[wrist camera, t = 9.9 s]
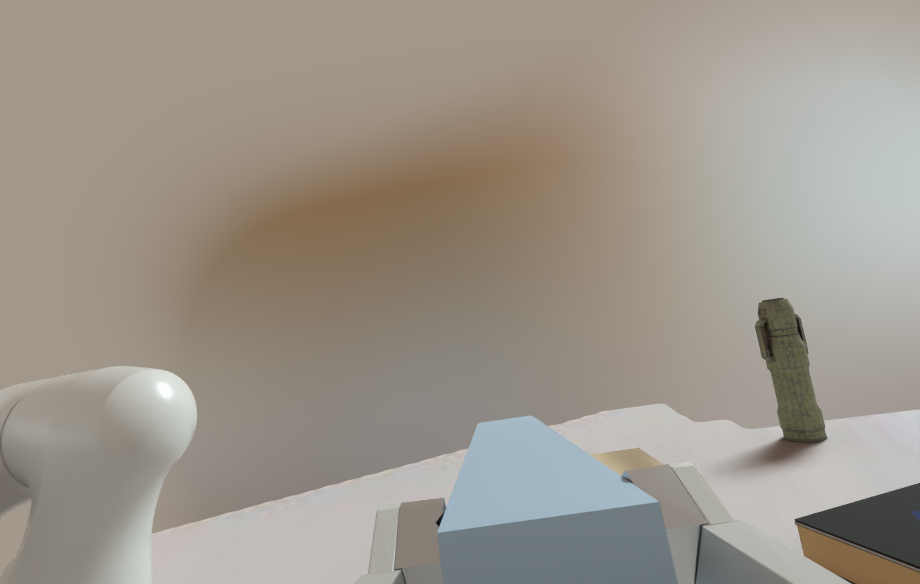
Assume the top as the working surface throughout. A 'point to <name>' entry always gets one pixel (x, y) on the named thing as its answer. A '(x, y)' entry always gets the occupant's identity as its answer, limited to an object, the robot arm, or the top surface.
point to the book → (868, 538)
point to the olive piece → (789, 371)
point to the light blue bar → (547, 515)
